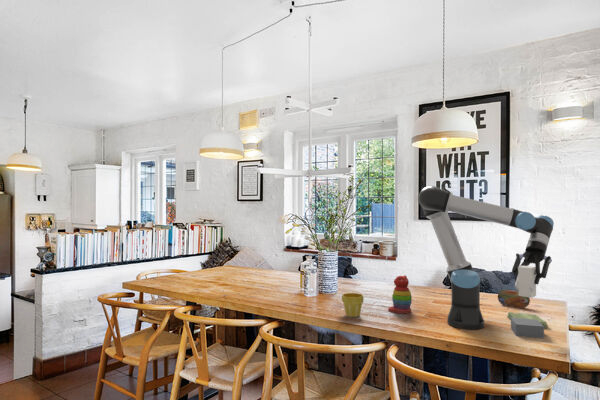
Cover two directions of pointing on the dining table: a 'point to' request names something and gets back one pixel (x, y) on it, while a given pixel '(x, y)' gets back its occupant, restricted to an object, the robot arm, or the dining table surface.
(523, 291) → the cream block
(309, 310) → the dining table surface
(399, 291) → the stacking bear
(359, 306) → the plant pot
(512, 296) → the brown flat oval
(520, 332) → the charcoal base block
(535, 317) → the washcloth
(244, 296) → the dining table surface
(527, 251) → the robot arm
